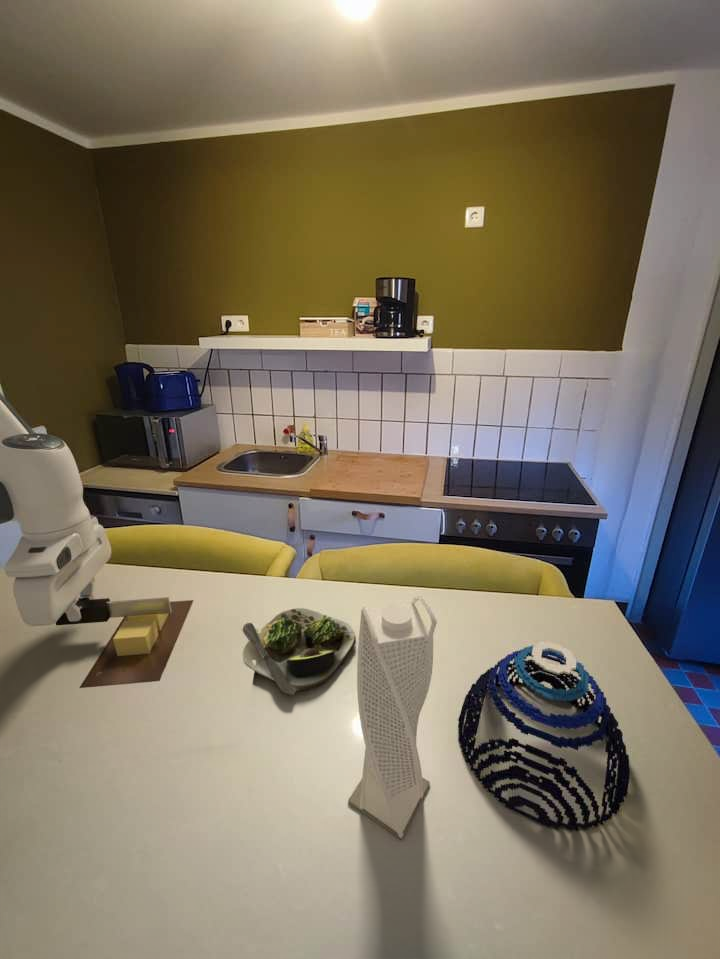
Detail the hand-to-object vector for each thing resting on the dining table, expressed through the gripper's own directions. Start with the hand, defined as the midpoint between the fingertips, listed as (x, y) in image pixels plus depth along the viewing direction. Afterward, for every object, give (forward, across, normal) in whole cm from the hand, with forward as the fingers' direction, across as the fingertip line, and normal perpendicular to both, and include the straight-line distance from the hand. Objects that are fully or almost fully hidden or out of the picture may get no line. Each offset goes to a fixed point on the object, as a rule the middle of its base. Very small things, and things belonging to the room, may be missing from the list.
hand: (82, 611), depth 71 cm
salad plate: (+7, +6, +36) cm, 37 cm away
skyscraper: (+7, +31, +47) cm, 57 cm away
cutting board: (+7, +1, +7) cm, 10 cm away
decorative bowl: (+8, +26, +67) cm, 72 cm away
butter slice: (+6, -3, +9) cm, 11 cm away
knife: (+2, 0, +5) cm, 5 cm away
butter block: (+6, +3, +9) cm, 11 cm away
